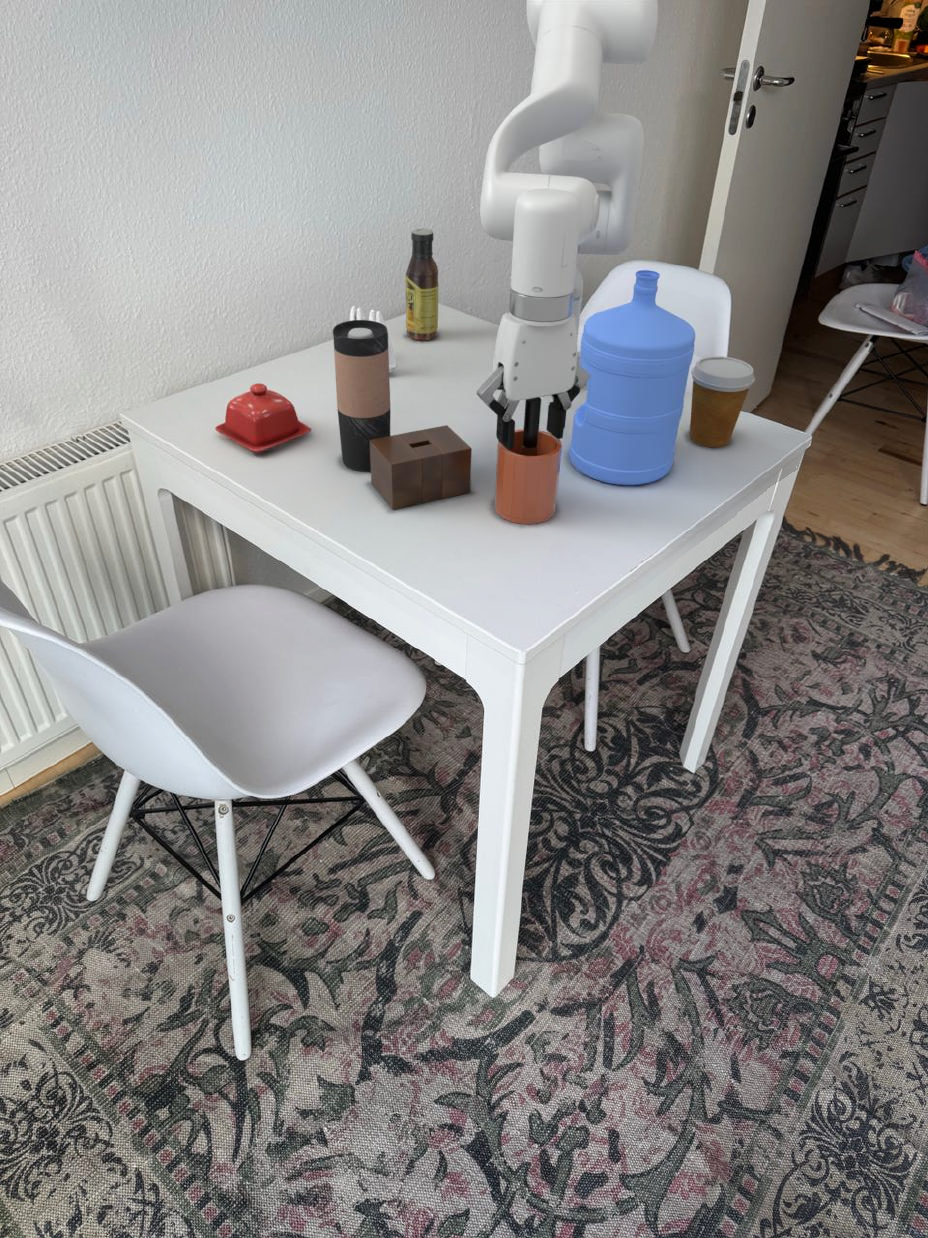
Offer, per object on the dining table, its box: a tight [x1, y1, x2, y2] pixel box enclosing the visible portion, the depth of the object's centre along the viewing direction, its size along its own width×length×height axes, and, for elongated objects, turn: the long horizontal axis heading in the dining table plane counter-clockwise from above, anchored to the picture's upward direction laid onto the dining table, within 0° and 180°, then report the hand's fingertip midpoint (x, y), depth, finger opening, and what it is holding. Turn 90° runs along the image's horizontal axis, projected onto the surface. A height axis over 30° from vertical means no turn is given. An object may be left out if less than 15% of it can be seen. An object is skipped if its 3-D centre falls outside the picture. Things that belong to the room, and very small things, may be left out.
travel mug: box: [332, 319, 391, 472], centre depth 128 cm, size 8×8×20 cm
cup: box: [494, 428, 563, 525], centre depth 121 cm, size 8×8×10 cm
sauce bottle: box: [405, 228, 439, 341], centre depth 169 cm, size 7×6×20 cm
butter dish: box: [214, 383, 312, 453], centre depth 137 cm, size 12×12×8 cm
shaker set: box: [349, 305, 399, 374], centre depth 159 cm, size 12×4×11 cm, turn 36°
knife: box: [521, 397, 542, 456], centre depth 118 cm, size 2×2×16 cm
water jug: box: [568, 269, 696, 486], centre depth 127 cm, size 16×16×28 cm
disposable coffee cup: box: [689, 355, 756, 448], centre depth 139 cm, size 10×10×12 cm
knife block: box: [370, 424, 472, 511], centre depth 125 cm, size 12×8×7 cm, turn 116°
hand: (530, 438), depth 117 cm, fingers open, 6 cm apart
